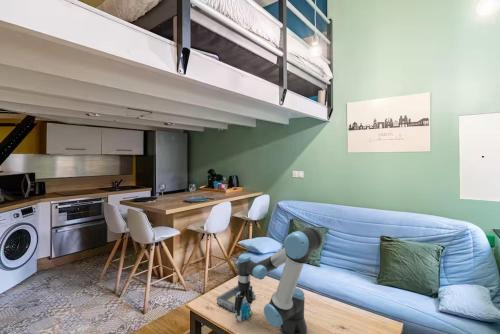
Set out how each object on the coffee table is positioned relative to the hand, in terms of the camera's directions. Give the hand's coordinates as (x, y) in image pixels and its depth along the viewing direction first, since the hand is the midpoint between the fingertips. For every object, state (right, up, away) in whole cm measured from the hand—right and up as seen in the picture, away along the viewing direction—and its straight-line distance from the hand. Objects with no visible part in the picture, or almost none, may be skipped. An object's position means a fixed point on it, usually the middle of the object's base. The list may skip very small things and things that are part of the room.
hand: (243, 316), depth 154 cm
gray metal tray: (-5, 0, +17) cm, 18 cm away
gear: (0, -1, 0) cm, 1 cm away
